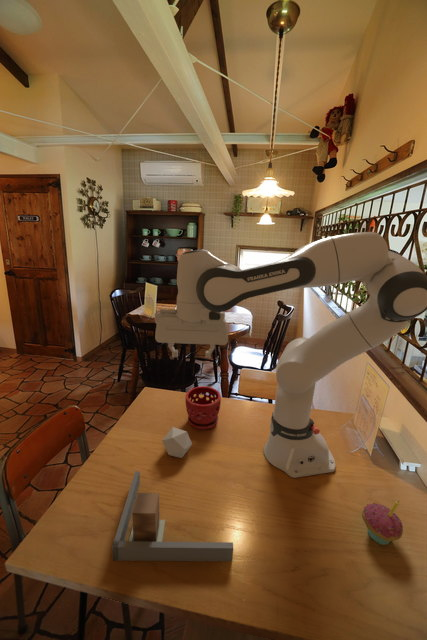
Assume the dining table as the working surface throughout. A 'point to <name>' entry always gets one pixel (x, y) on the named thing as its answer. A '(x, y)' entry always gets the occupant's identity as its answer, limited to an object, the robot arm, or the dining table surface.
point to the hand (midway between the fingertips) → (191, 357)
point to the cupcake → (382, 523)
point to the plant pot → (203, 407)
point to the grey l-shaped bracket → (162, 549)
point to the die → (177, 442)
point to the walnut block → (146, 517)
